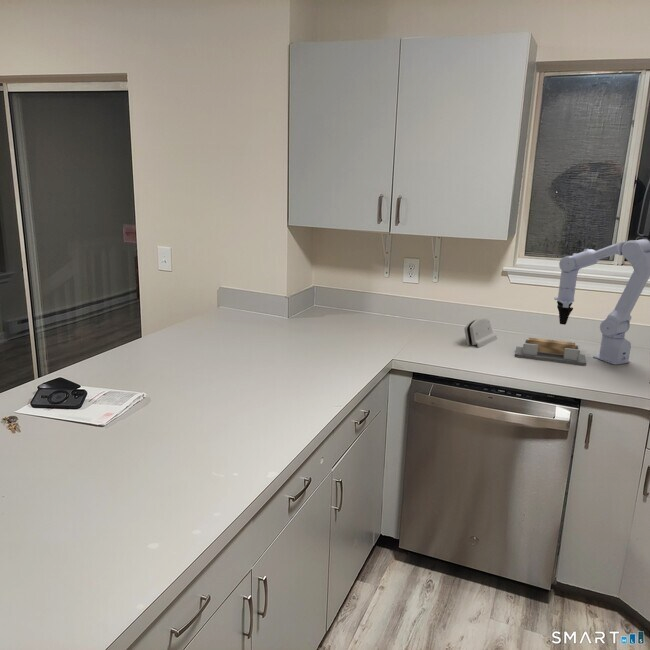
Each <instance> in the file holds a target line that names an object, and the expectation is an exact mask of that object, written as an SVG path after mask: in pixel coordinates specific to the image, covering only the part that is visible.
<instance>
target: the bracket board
mask: <svg viewBox="0 0 650 650" xmlns="http://www.w3.org/2000/svg"><path fill="white" fill-rule="evenodd" d="M528 339H529V338H524V339H523V345H522V346H516V347H515V354H514V357H516V358H523V359H531V360H539V361H547V362H554V363H563V364H570V365H578V366H584V365H585V367H586V366H587V359H586V355H585V354H582V353H581V346H580V345H579V344H575V349H569V348H565V351H564V355H562V354H554V353H546V352H538V345H536V344H528Z"/></svg>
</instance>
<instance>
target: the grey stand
mask: <svg viewBox="0 0 650 650" xmlns="http://www.w3.org/2000/svg"><path fill="white" fill-rule="evenodd" d="M491 325H492V324H491V321H490V319H488V318H477V319H473V320H471V321H469V322H468V323H467V324H466V325H465V327H464V334H465V341H466V346H468V345H469V346H475V345H476V346H477V349H480V348H483V346H486V345H488V344H491V343H492V342H494V341H496V340H498V337H497V335H496V333H494V331H493V328H492V326H491Z"/></svg>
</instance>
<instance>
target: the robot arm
mask: <svg viewBox="0 0 650 650" xmlns="http://www.w3.org/2000/svg"><path fill="white" fill-rule="evenodd" d="M615 255H617V256H623V257H624V258H625V259H626V260H627V262H628V263H629V264H630V265H631V267H632V268H633V271H632V273H631V275H630V277H629V279H628V282H627V284H626V286H625V287H624V290H623V291H622V293H621V295H620V297H619V299H618V302H617V303H616V305H615V308H614V309H613V310H612V311H611V312H610V313H609V314H608V315H607V316H606V318H605V319H604V320H603V321H601V323H600V325H599V331H600V332H601V335H602V336H601V340H600V347H599V353H598V354H595V355H593V358H595V359H598V360H600V361H603V362H606V363H609V364H612V365H621V364H628V363H630V362H631V361H630V354H631V348H632V344H631V341H629V340H627V338H625V337H626V333H627V332H628V331H629V329H630V326H631V325H630V324H631V323H630V322H631V320H632V316H631V313H632V311H633V309H634V308H635V305H636V303H637V302H638V300H639V298H640V296H641V294H642V293H643V290H644V288H645V286H646V285H647V283H648V281H649V279H650V240H649V239H647V238H641V239H638V240H637V239H635V240H633V239H632V240H631V239H630V240H627V241H622V242H617V243H614V244H612V245H608V246H606V247H603V248H600V249H597V250H595V249H592V248H590V249H589V248H584V249H583V251H581V252H574V253H572V255H569V256H567V255H565V256H564V257H562V258H561V259H560V261H559V262H558V263H559V264H558V265H559V266H558V267H559V269H560V270H561V272H560V280H559V288H558V293H557V296H555V297H554V300H555V301H556V303H557V310H558V317H559V318H558V319H559V325H564V326H565V325H566V324H567V323H568V321H569V317H570V314H571V313H572V311H573V309H574V307H572V305H573V303H574V302H575V293H576V285H577V279H578V273H579V271H580V270H581V269H584V268H588V267H591V266H594V265H596V264H598V262H599V260H601V259H605V258H607V257H612V256H615Z"/></svg>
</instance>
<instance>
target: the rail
mask: <svg viewBox="0 0 650 650" xmlns="http://www.w3.org/2000/svg"><path fill="white" fill-rule="evenodd" d="M527 339H528V344H536V345H538V352H546V353H554V354H562V355H564V351H565V348H569V349H575V345H576V342H571V341H570V342H569V341H562V340H553V339H544V338H537V337H528V338H527Z"/></svg>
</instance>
